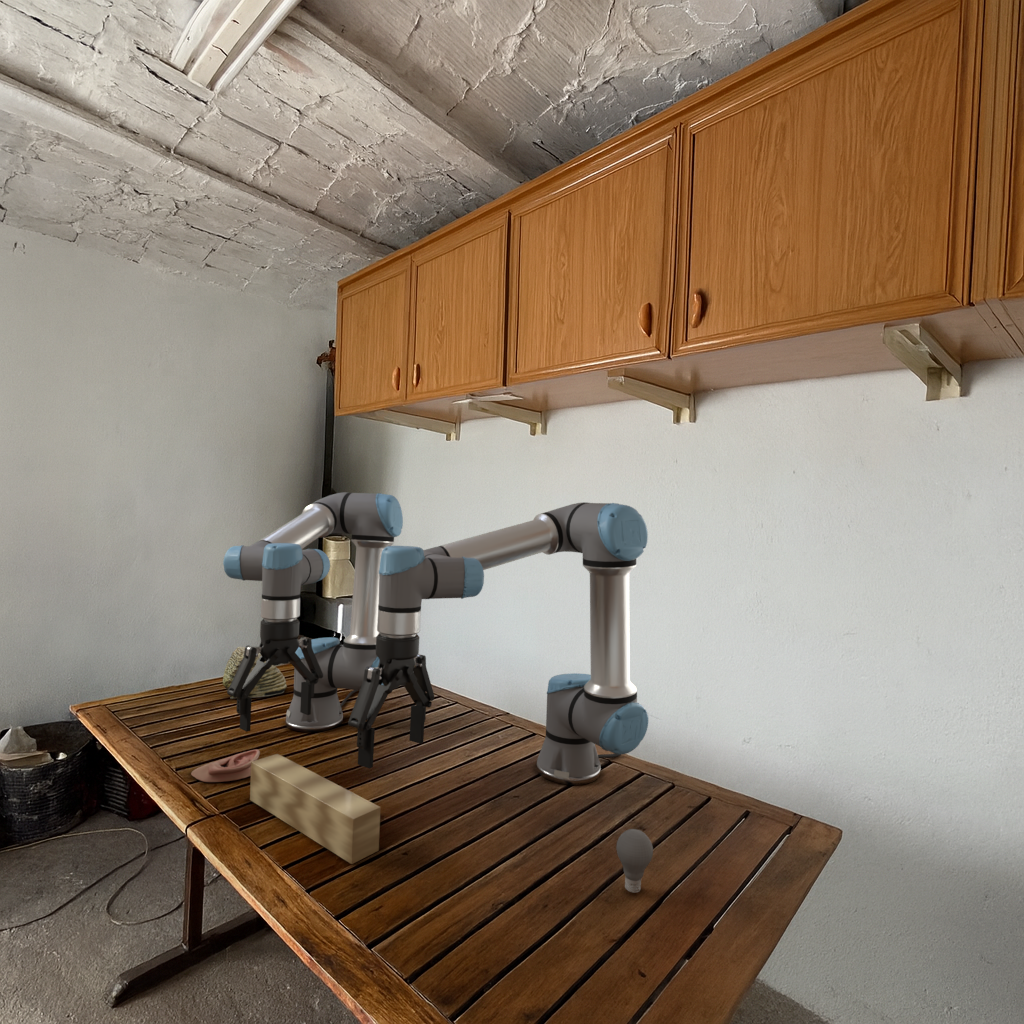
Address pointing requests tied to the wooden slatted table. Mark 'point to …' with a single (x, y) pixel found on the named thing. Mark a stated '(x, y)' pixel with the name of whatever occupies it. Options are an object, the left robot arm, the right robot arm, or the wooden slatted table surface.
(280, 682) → the fossil
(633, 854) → the light bulb
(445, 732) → the wooden slatted table surface
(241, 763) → the anatomical model
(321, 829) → the birch beam
